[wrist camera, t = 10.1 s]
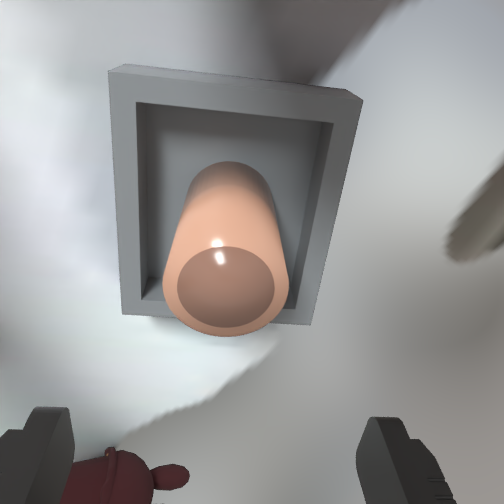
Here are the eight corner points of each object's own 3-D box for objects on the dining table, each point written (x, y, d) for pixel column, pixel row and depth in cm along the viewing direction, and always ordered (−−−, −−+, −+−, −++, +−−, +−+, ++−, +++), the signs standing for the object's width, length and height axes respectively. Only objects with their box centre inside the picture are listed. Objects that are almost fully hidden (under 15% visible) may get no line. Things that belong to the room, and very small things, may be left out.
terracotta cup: (188, 156, 23) (163, 227, 15) (278, 167, 24) (299, 240, 16) (184, 236, 26) (160, 333, 18) (265, 244, 26) (278, 342, 18)
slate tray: (125, 63, 21) (108, 71, 18) (345, 89, 23) (363, 100, 20) (133, 282, 28) (121, 314, 25) (302, 293, 29) (310, 325, 26)
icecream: (-11, 540, 32) (169, 553, 37) (-6, 520, 28) (199, 538, 33) (23, 449, 37) (178, 471, 42) (32, 419, 33) (205, 447, 38)
